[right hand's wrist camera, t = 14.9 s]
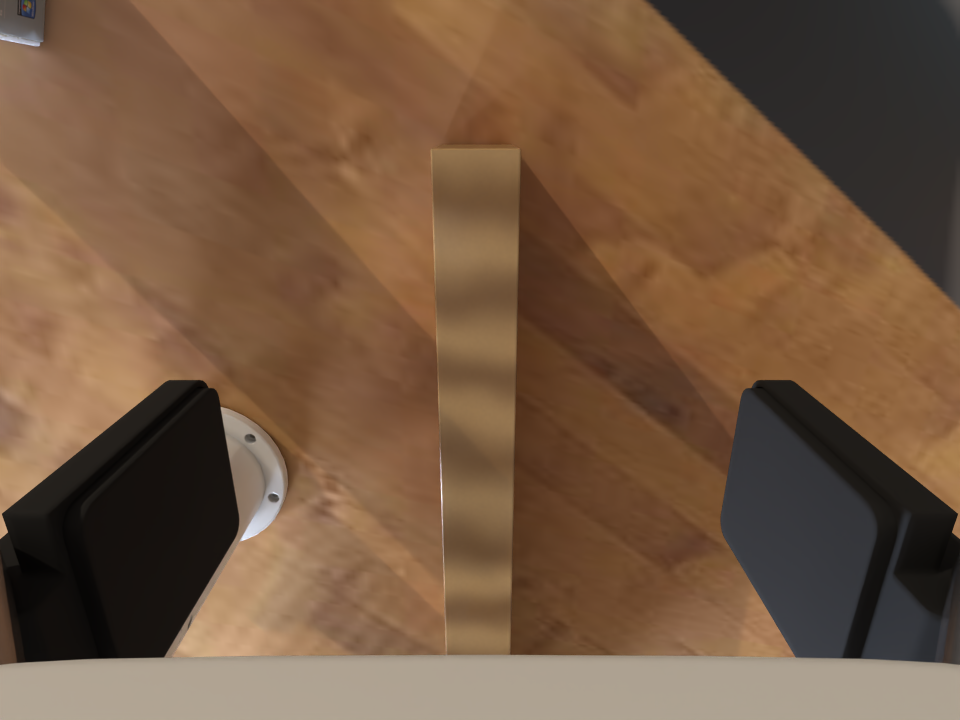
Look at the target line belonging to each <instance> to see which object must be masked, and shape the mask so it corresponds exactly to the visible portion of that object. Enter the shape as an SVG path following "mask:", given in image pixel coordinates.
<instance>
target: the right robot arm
mask: <svg viewBox="0 0 960 720" xmlns="http://www.w3.org/2000/svg"><path fill="white" fill-rule="evenodd" d="M287 488H288V473H287V469H286V465H285V461H284V458H283V456H282V454H281V452H280V450H279V448H278V447H277V445H276V444H275V443H274V441H273V440H272V439H271V437H270V436H269V435H268V434H267V433H266V432H265V431H264V430H263V429H262V428H261V427H260V426H259V425H257V424H256V423H254V422H253V421H251V420H250V419H248V418H247V417H245V416H243V415H241V414H239V413H237V412H235V411H233V410H230V409H227V408H223V407H220V401H219V396H218V393H217V391H216V390H215V389H213V388H208V386H207V384H206V383H205V382H204V381H201V380H169V381H167V382H165V383H164V384H162V385H161V386H160V387H159V388H158V389H156V390H155V391H154V392H153V393H151V394H150V395H149V396H148V397H146V398H145V399H144V400H143V401H141V402H140V403H139V404H138V405H136V406H135V407H134V408H133V409H131V410H130V411H129V412H128V413H126V414H125V415H124V416H123V417H122V418H120V419H119V420H118V421H117V422H115V423H114V424H113V425H112V426H110V427H109V428H108V429H107V430H105V431H104V432H103V433H102V434H100V435H99V436H98V437H97V438H95V439H94V440H93V441H92V442H91V443H89V444H88V445H87V446H86V447H84V448H83V449H82V450H81V451H79V452H78V453H77V454H76V455H74V456H73V457H72V458H71V459H69V460H68V461H67V462H66V463H64V464H63V465H62V466H61V467H59V468H58V469H57V470H56V471H55V472H53V473H52V474H51V475H50V476H48V477H47V478H46V479H45V480H43V481H42V482H41V483H40V484H38V485H37V486H36V487H35V488H33V489H32V490H31V491H30V492H28V493H27V494H26V495H25V496H24V497H22V498H21V499H20V500H19V501H17V502H16V503H15V504H14V505H12V506H11V507H10V508H9V509H7V510H6V511H5V512H4V513H2V516H3V518H4V521H5V524H6V527H7V530H8V533H7V534H6V535H5V536H4V537H2V538H1V539H0V720H960V539H959V538H958V537H956V536H955V535H954V534H953V533H952V530H953V527H954V524H955V521H956V518H957V516H958V513H956V512H955V511H954V510H953V509H951V508H950V507H949V506H948V505H946V504H945V503H944V502H943V501H941V500H940V499H939V498H938V497H936V496H935V495H934V494H933V493H932V492H930V491H929V490H928V489H927V488H925V487H924V486H923V485H922V484H920V483H919V482H918V481H917V480H915V479H914V478H913V477H912V476H910V475H909V474H908V473H907V472H905V471H904V470H903V469H902V468H901V467H899V466H898V465H897V464H896V463H894V462H893V461H892V460H891V459H889V458H888V457H887V456H886V455H884V454H883V453H882V452H881V451H879V450H878V449H877V448H876V447H874V446H873V445H872V444H871V443H869V442H868V441H867V440H866V439H865V438H863V437H862V436H861V435H860V434H858V433H857V432H856V431H855V430H853V429H852V428H851V427H850V426H848V425H847V424H846V423H845V422H843V421H842V420H841V419H840V418H838V417H837V416H836V415H835V414H834V413H832V412H831V411H830V410H829V409H827V408H826V407H825V406H824V405H822V404H821V403H820V402H819V401H817V400H816V399H815V398H814V397H812V396H811V395H810V394H809V393H807V392H806V391H805V390H804V389H802V388H801V387H800V386H799V385H798V384H796V383H795V382H793V381H791V380H759V381H756V382H755V383H754V384H753V386H752V388H747V389H745V390H744V391H743V393H742V396H741V401H740V407H739V413H738V418H737V424H736V430H735V436H734V442H733V448H732V453H731V459H730V465H729V471H728V477H727V482H726V488H725V494H724V500H723V506H722V512H721V529H722V533H723V536H724V538H725V540H726V541H727V543H728V545H729V546H730V548H731V550H732V551H733V553H734V555H735V556H736V558H737V560H738V561H739V563H740V565H741V566H742V568H743V570H744V571H745V573H746V575H747V576H748V578H749V580H750V581H751V583H752V585H753V586H754V588H755V590H756V591H757V593H758V595H759V596H760V598H761V600H762V602H763V603H764V605H765V607H766V608H767V610H768V612H769V613H770V615H771V617H772V618H773V620H774V622H775V623H776V625H777V627H778V628H779V630H780V632H781V633H782V635H783V637H784V638H785V640H786V642H787V643H788V645H789V647H790V648H791V650H792V652H793V653H794V655H795V657H796V658H788V657H735V656H617V655H343V656H225V657H173V655H174V653H175V651H176V650H177V648H178V646H179V645H180V643H181V641H182V639H183V638H184V636H185V634H186V633H187V631H188V629H189V627H190V626H191V624H192V622H193V621H194V619H195V617H196V615H197V614H198V612H199V610H200V609H201V607H202V605H203V603H204V602H205V600H206V598H207V597H208V595H209V593H210V591H211V590H212V588H213V586H214V584H215V583H216V581H217V579H218V578H219V576H220V574H221V572H222V571H223V569H224V567H225V566H226V564H227V562H228V560H229V559H230V557H231V555H232V554H233V552H234V550H235V548H236V547H237V545H238V543H239V542H240V541H242V540H245V539H248V538H250V537H252V536H255V535H257V534H258V533H259V532H261V531H262V530H264V529H265V528H267V527H268V525H269V524H270V523H271V522H272V521H273V520H274V519H275V518H276V516H277V514H278V512H279V511H280V509H281V507H282V505H283V503H284V500H285V498H286V494H287Z"/></svg>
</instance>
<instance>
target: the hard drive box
mask: <svg viewBox="0 0 960 720" xmlns="http://www.w3.org/2000/svg"><path fill="white" fill-rule="evenodd" d="M44 24H45V0H0V39H2V40H7V41H12V42H17V43H22V44H27V45H33V46H40V42H43V41H44Z"/></svg>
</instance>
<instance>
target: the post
mask: <svg viewBox="0 0 960 720" xmlns="http://www.w3.org/2000/svg"><path fill="white" fill-rule="evenodd" d="M520 177H521V149H520V148H518V147H516V146H514V145H512V144H442V145H439V146H437V147H435V148H432V149H431V179H432V212H433V245H434V278H435V311H436V343H437V376H438V409H439V442H440V475H441V508H442V541H443V573H444V606H445V639H446V655H511V608H512V560H513V512H514V464H515V416H516V368H517V320H518V272H519V224H520Z"/></svg>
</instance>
